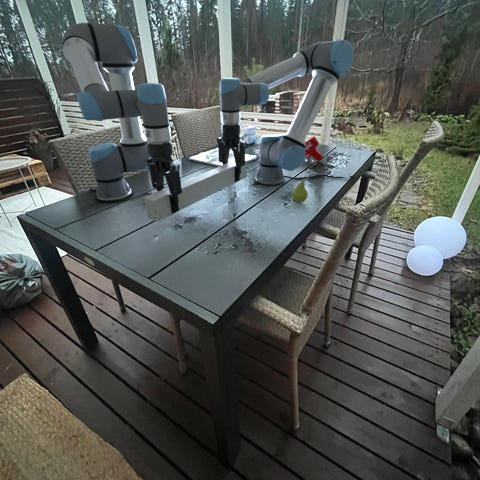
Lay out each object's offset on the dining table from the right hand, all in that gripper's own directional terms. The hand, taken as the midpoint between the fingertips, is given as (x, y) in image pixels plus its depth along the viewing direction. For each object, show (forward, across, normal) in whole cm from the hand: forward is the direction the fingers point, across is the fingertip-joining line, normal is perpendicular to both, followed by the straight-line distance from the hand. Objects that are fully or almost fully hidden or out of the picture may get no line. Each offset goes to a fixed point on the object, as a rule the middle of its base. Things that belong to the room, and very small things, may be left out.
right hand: (232, 179), depth 120 cm
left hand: (0, -1, -36) cm, 36 cm away
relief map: (+10, -43, +47) cm, 65 cm away
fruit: (+9, +27, +14) cm, 32 cm away
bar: (+1, 0, -18) cm, 18 cm away
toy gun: (+10, +3, +74) cm, 75 cm away
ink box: (+10, -54, +94) cm, 109 cm away
